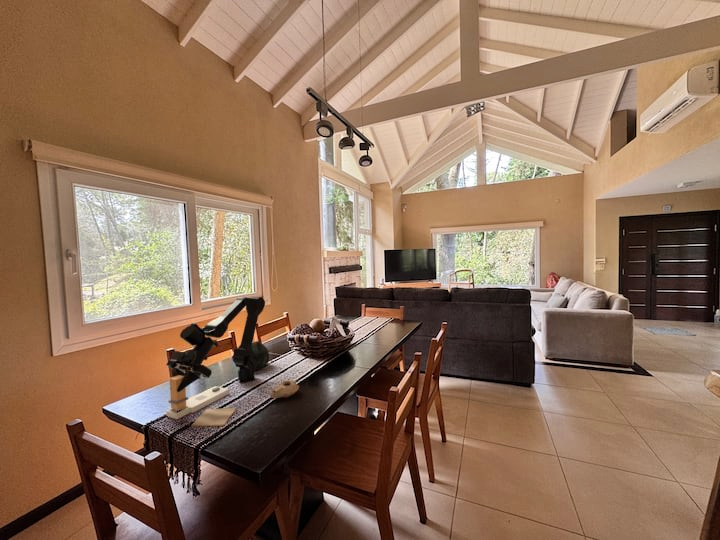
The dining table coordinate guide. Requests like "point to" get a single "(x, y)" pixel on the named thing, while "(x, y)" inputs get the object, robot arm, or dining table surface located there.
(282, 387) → the pottery oil lamp
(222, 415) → the cork mat
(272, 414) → the dining table surface
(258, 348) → the squash
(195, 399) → the power strip
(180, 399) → the tan tall block
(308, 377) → the dining table surface
